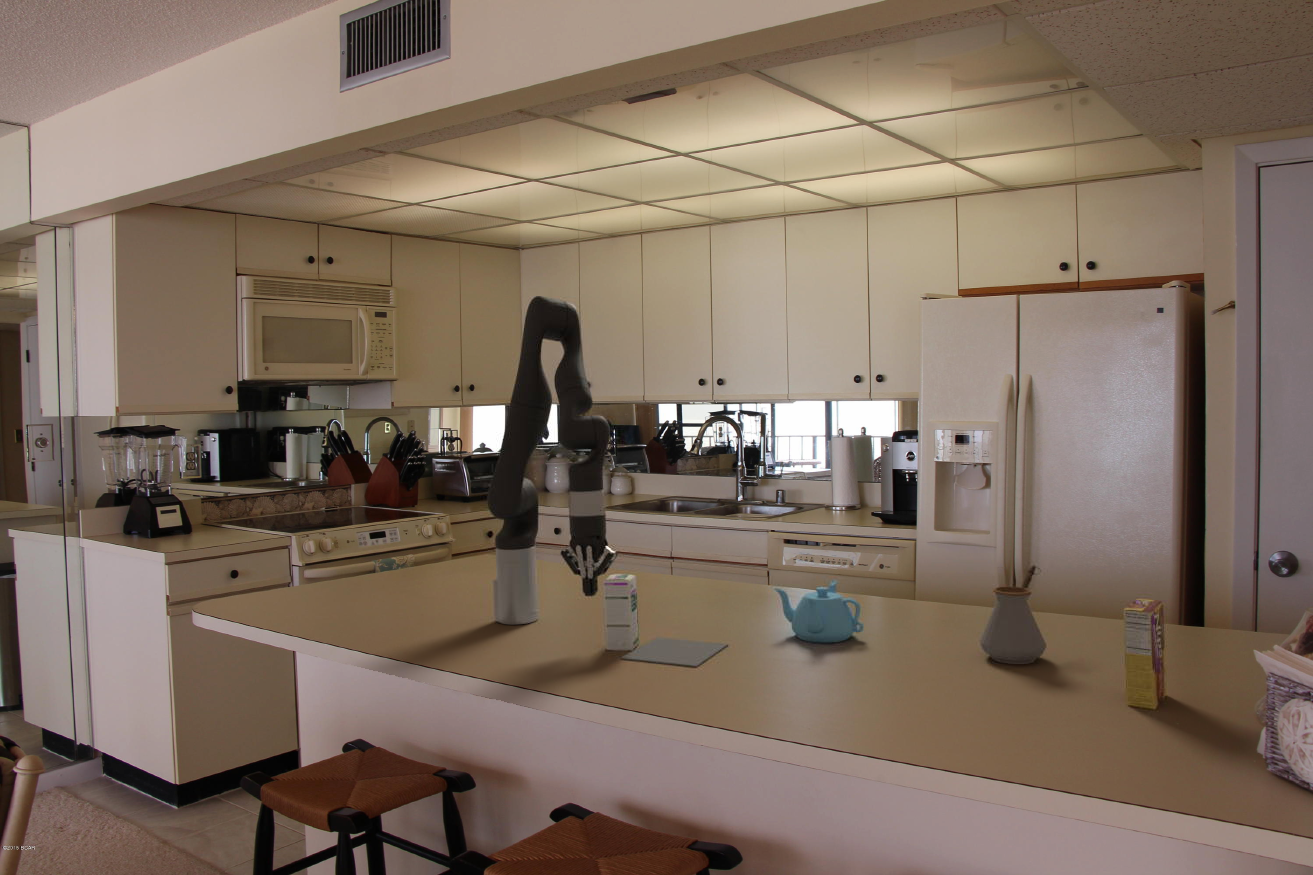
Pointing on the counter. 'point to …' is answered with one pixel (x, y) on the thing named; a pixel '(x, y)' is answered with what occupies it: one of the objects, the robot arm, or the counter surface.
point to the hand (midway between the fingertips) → (590, 595)
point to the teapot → (822, 615)
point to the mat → (675, 652)
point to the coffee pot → (1013, 626)
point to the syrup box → (621, 612)
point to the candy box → (1144, 653)
